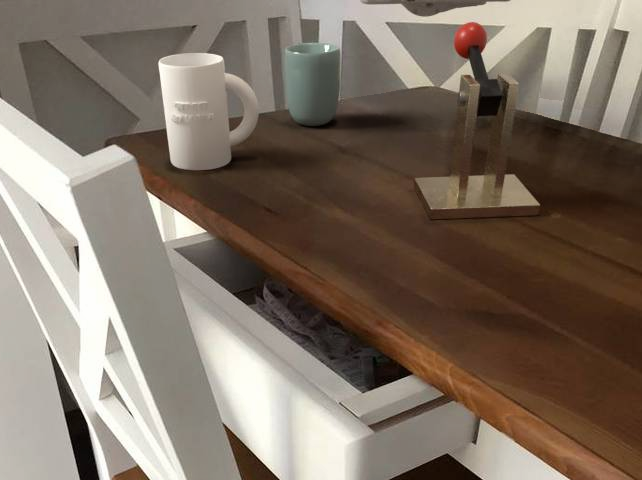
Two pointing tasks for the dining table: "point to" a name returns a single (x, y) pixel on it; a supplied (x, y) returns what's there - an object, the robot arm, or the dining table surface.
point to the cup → (312, 82)
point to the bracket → (494, 186)
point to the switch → (478, 66)
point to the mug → (202, 110)
